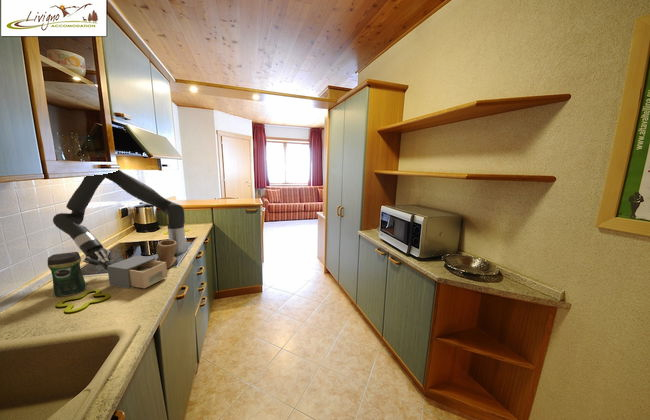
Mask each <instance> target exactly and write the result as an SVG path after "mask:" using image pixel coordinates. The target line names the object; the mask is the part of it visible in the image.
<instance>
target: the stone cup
mask: <svg viewBox="0 0 650 420" xmlns="http://www.w3.org/2000/svg"><path fill="white" fill-rule="evenodd" d="M176 248H177V243H176V242H175V241H173V240H169V239H162V240H160V241H158V243H157V245H156V254H157V256H158V259H157V260H156V261H161V262H166V267H167V269H169V268H171V267H173V265H174V264H175V263H176V261H177V259H178V257H177V256H175V255H176V254H175V251H176Z"/></svg>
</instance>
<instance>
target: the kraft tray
mask: <svg viewBox="0 0 650 420" xmlns="http://www.w3.org/2000/svg"><path fill="white" fill-rule="evenodd" d="M128 272H129V279H130V286H134V287H136V288H141V289H147V288H149V287H150V286H152V285H154V284H156V283H158V282H160V281H162V280H164V279H166V278H168V277H169V276H168V268H167V267H166V262H161V261H157V260H155V261H153V260H152V261H149V262H147V263H144V264H142V265H139V266H136V267H134V268H131V269H129V270H128ZM134 287H133V288H134Z"/></svg>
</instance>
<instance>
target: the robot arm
mask: <svg viewBox="0 0 650 420" xmlns="http://www.w3.org/2000/svg"><path fill="white" fill-rule="evenodd" d="M105 179H107V180H108V181H111V182H113V184H115V185H116V186H117V185H118V187H120V188H121V189H122V190H124V191H125V193H127V194H129V195H130V196H132V197H134V198H135V199H137V200H139V201H141V202H143V203H146V204H148V205H151V206H153V207H155V208H157V209H158V210H160V211H161V212H162V213H164V214H165V215H166V216H167V218H168V219H167V220H168V223H167V234H168V240H173V241H175V242H176V243H177V248H176V251H175V254H174V255H179V254H183V253H186V252H187V251H188V241H187V236H186V234H185V233H186V232H185V223H186V220H185V210H184V207H183V206H182V205H181V204H178V203H176V202H173V201H172V200H169V199H167V198H164V197H163V196H162V195H161V194H160V193H158V192H157V191H156V190H154V189H153V188H152V187H150V186H149V185H147V184H146V183H144V182H142V181H140V180H138V179H136V178H135V177H133V176H131V175H129V174H128V173H126V172H123V171H122V170H121V169H119V170H118V171H116V172H113V173H108V174H103V175H94V176H86V177H85V176H84V178H83V179H82V181H81V183H79V186H77V188H76V190H75V191H74V192H73V193H72V196H71V197H70V198H69V200H68V202H67V203H66V206H65V207H66V208H67V209H68V210H70V211H71V212H69V213H65V212H60V213H56V214H55V215H54V216H53V218H52V223H53V224H54V226H55V227H57V229H59V230H61V231H62V232H64V233H65V234H66V235H68V236H70V238H71V239H72V241H73V242H74V243H75V245H76V246H77V247H78V248H79V249H80V251H81V252H82V253H83V254H84V255H85V258H84V260H82V261H83V263H86V264H89V265H92V266H93V265H94V266H95V267H96V266H102V267H103V269H104V270H106V271H108V269H107V266H109V265H112V264H113V263H111V262H110V261H111V260H112V259H113V254H114V250H113V249H110V250H107V248H104V246H103V244H102V243H101V242H100V241H99V240H98V238H96V236H95V235H94V234H92V233H91V231H90V230H89V229H88V228H87V227H86V226H84V225H81V224H82V223H83V222H84V217H85V212H86V208H88V206H89V204H90V202H91V200H92V198H93V197H94V195H95V192H96V191H97V189H98V188H99V187H100V185H101V184H102V183H103V181H104V180H105Z"/></svg>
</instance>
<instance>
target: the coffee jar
mask: <svg viewBox="0 0 650 420" xmlns="http://www.w3.org/2000/svg"><path fill="white" fill-rule="evenodd" d="M81 261H82V258H81V255H80V253H79V252H78V251H72V252H71V251H70V252H64V253H56V254H55V253H54V254H52V255H50V256H49V257H48V258H47V267H48V269H49V270H50V272H51V276H52V277H51V278H52V285H53V286H52V287H53V288H52V289H53V295H54V297H58V298H60V297H65V296H69V295H70V296H71V295H75V294H79V293H80V292H82V291H85V289H86V288H87V283H86V281H85V278H84V276H83V272H82V268H81Z"/></svg>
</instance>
